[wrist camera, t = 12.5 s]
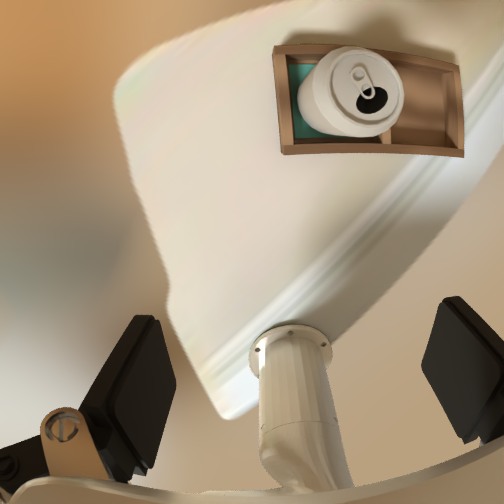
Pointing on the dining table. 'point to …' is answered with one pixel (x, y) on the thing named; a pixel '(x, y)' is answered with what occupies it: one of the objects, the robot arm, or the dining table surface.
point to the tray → (399, 134)
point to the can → (351, 94)
